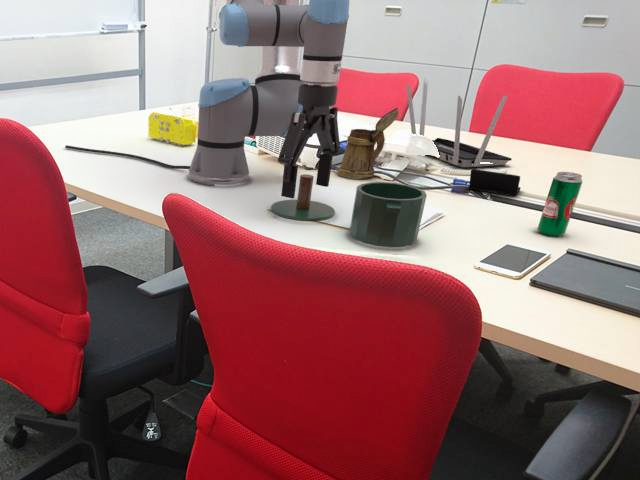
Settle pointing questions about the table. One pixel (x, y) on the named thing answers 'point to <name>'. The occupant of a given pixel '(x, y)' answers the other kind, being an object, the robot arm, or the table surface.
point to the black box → (494, 182)
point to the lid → (303, 204)
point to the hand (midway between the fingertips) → (305, 191)
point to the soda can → (560, 204)
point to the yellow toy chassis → (171, 129)
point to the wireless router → (456, 150)
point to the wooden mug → (365, 149)
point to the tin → (387, 214)
